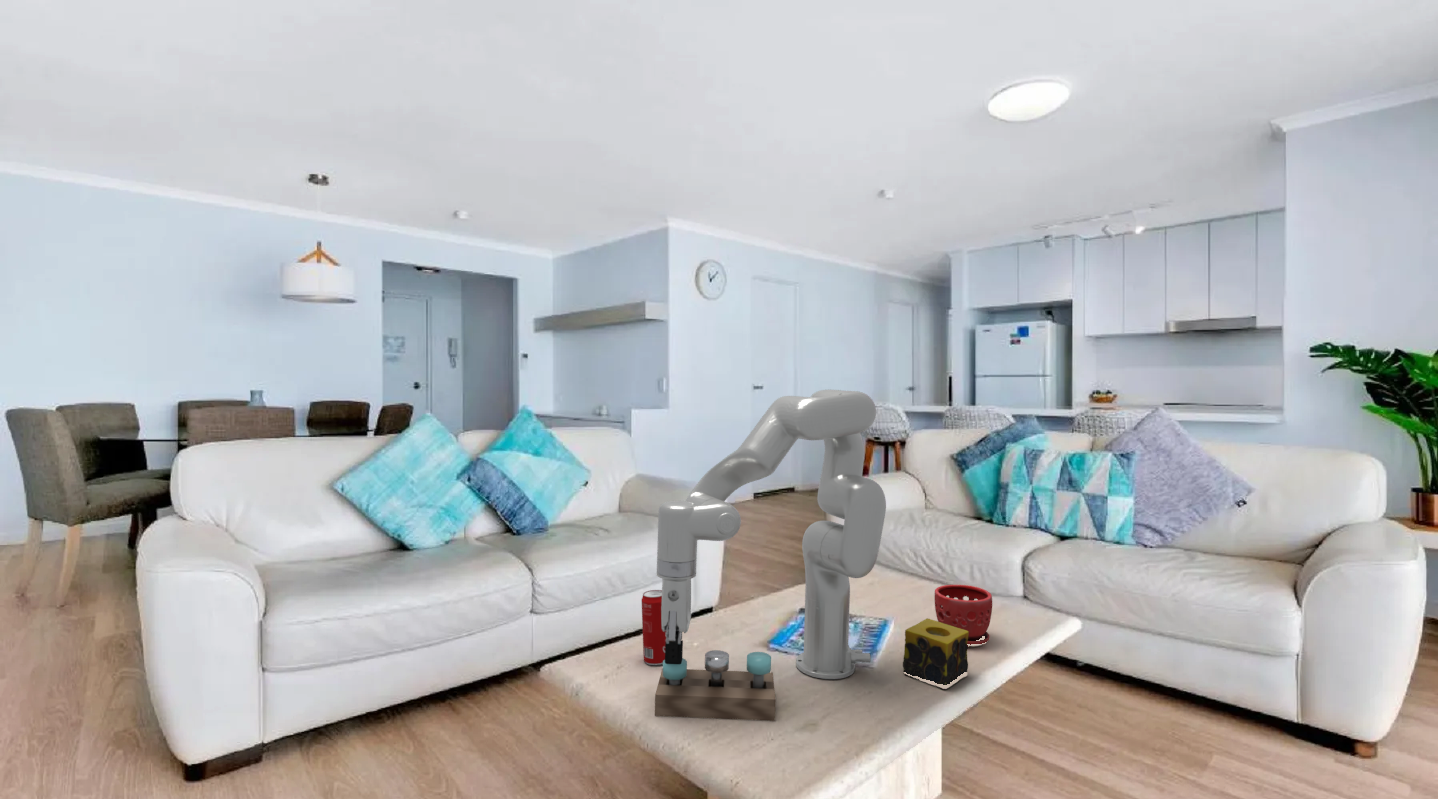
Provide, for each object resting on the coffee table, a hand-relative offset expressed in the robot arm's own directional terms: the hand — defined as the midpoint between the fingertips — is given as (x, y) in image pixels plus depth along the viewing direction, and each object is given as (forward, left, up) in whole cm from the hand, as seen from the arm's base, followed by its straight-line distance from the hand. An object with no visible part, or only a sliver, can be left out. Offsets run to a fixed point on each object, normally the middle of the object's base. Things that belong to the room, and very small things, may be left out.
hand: (673, 662), depth 128 cm
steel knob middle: (-8, 0, -5) cm, 10 cm away
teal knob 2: (-16, 0, -5) cm, 17 cm away
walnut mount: (-8, 0, -8) cm, 11 cm away
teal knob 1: (0, 0, -6) cm, 6 cm away
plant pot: (-66, -36, -8) cm, 76 cm away
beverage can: (+6, -18, -8) cm, 21 cm away
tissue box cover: (-54, -16, -8) cm, 57 cm away
